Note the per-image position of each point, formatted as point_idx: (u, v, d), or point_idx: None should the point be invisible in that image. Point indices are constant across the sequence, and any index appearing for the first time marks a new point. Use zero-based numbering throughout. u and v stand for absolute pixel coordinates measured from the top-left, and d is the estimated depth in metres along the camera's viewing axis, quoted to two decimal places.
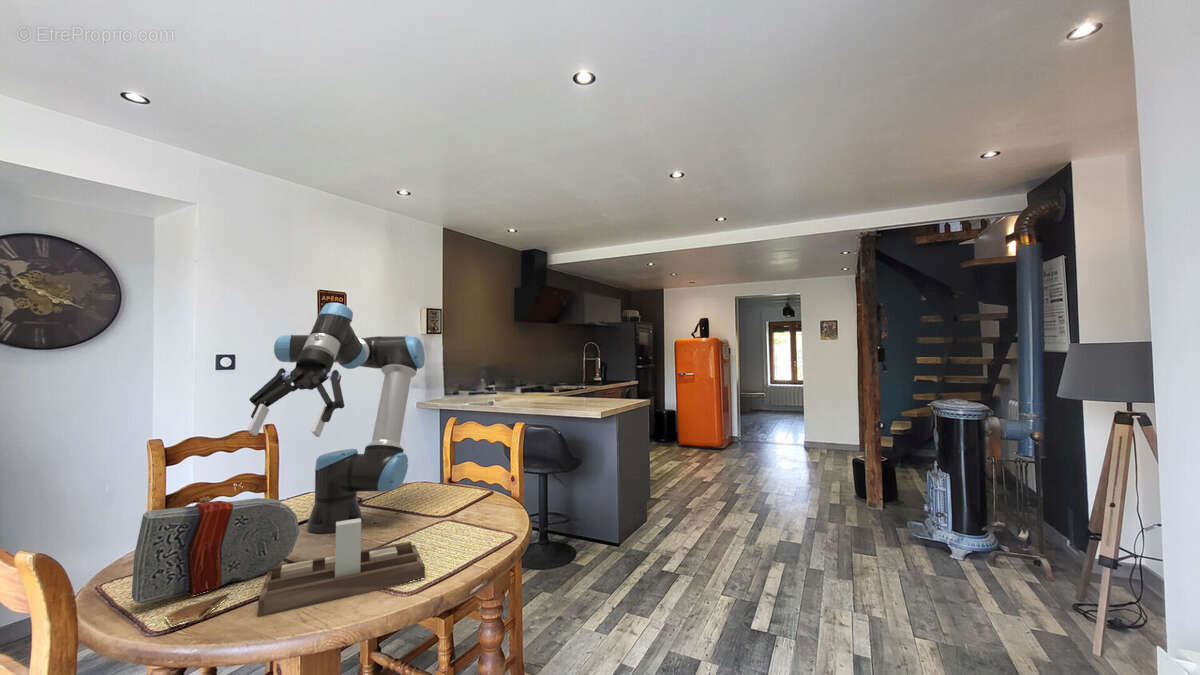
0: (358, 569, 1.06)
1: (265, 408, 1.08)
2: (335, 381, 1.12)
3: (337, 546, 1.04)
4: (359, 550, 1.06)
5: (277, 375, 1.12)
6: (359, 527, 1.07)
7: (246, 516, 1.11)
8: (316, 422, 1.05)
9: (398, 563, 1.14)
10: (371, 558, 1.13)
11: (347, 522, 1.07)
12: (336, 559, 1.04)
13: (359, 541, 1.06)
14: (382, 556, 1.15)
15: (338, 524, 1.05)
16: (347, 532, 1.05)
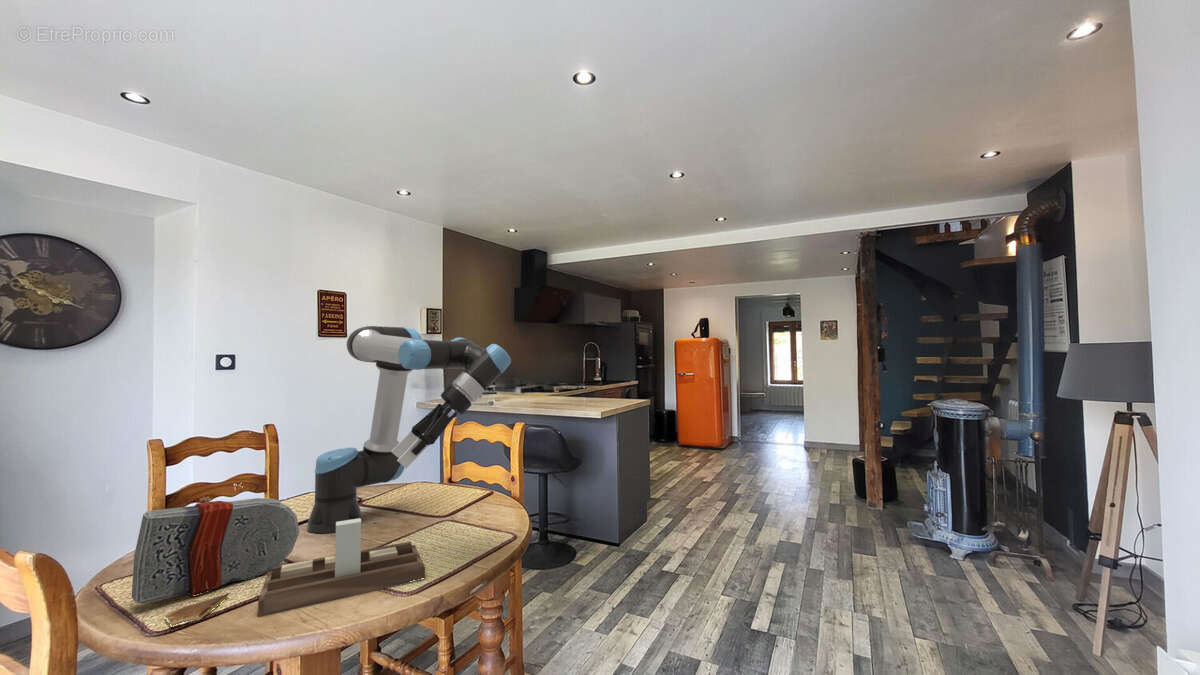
0: (358, 569, 1.06)
1: None
2: None
3: (337, 546, 1.04)
4: (359, 550, 1.06)
5: None
6: (359, 527, 1.07)
7: (246, 516, 1.11)
8: None
9: (398, 563, 1.14)
10: (371, 558, 1.13)
11: (346, 522, 1.07)
12: (336, 559, 1.04)
13: (359, 541, 1.06)
14: (382, 555, 1.15)
15: (338, 524, 1.05)
16: (347, 532, 1.05)
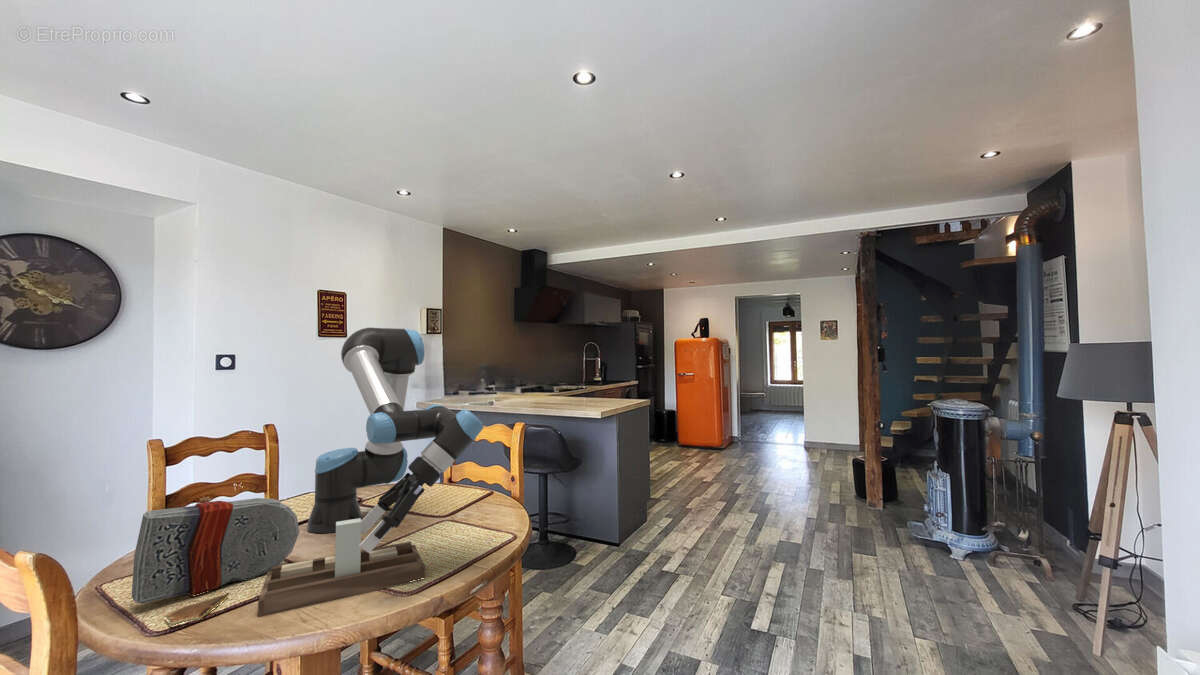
0: (358, 569, 1.06)
1: None
2: None
3: (337, 546, 1.04)
4: (359, 550, 1.06)
5: None
6: (359, 527, 1.07)
7: (246, 516, 1.11)
8: None
9: (398, 563, 1.14)
10: (371, 558, 1.13)
11: (347, 522, 1.07)
12: (336, 559, 1.04)
13: (359, 541, 1.06)
14: (382, 555, 1.15)
15: (338, 524, 1.05)
16: (347, 532, 1.05)
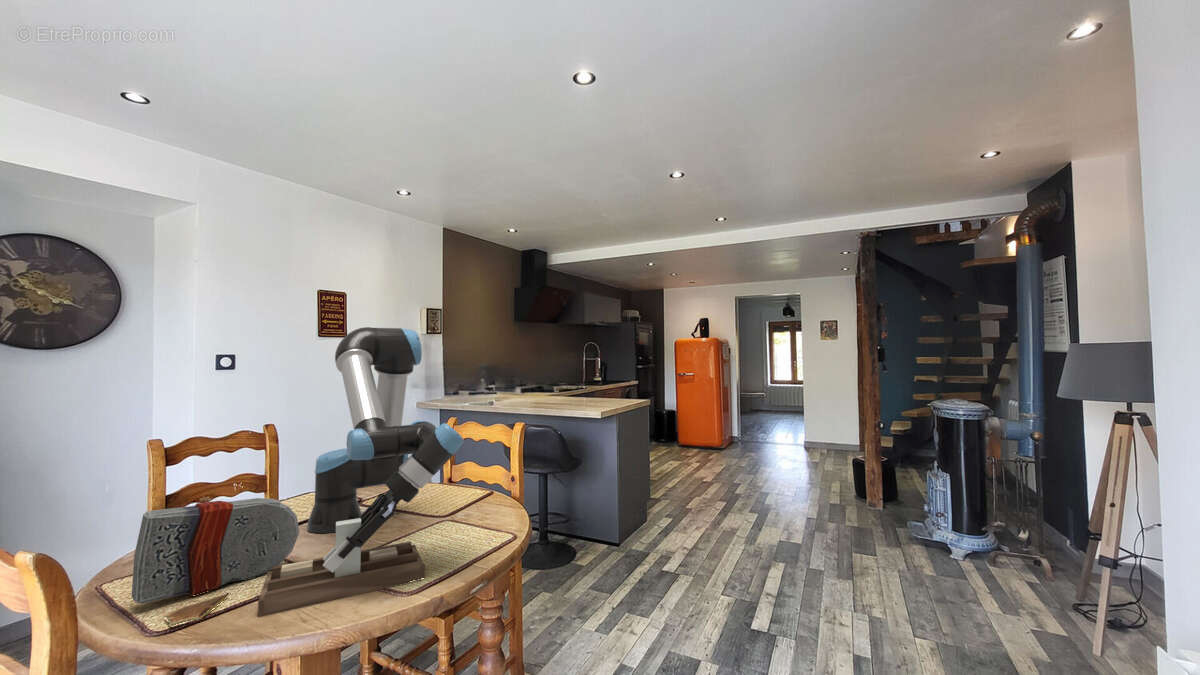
0: (358, 569, 1.06)
1: None
2: None
3: (337, 546, 1.04)
4: (359, 550, 1.06)
5: None
6: (359, 527, 1.07)
7: (246, 516, 1.11)
8: None
9: (398, 563, 1.14)
10: (371, 558, 1.13)
11: (346, 522, 1.07)
12: None
13: None
14: (382, 555, 1.15)
15: (338, 524, 1.05)
16: (347, 532, 1.05)
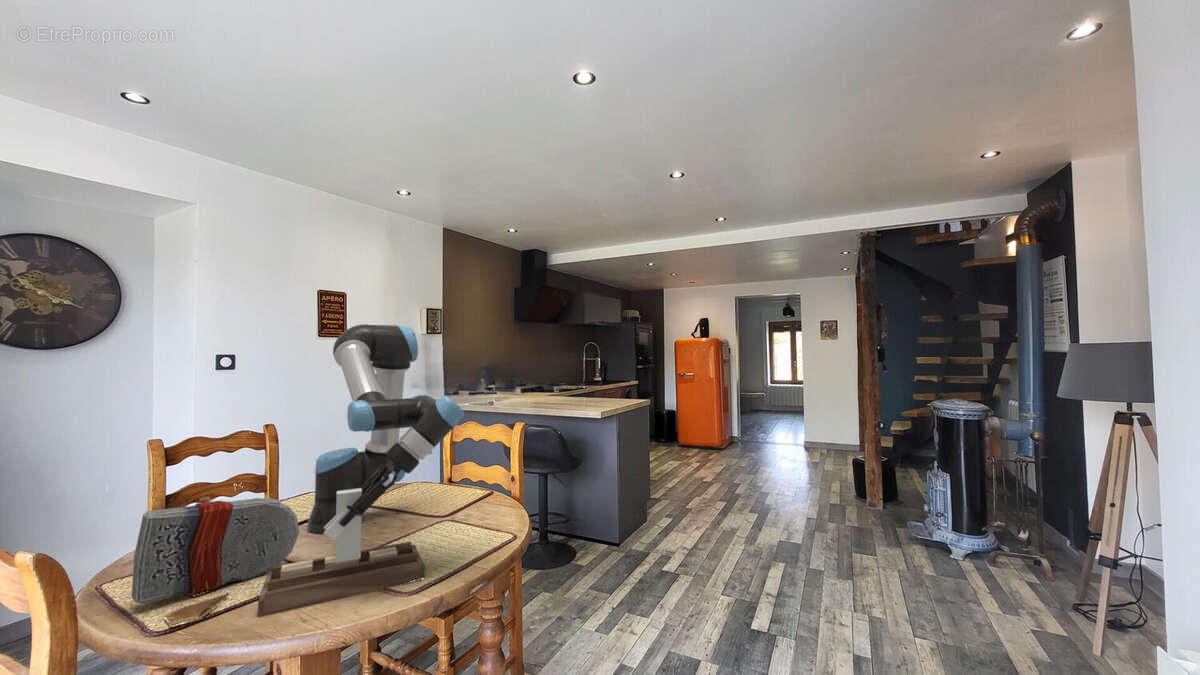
0: (359, 538, 1.07)
1: None
2: None
3: (338, 514, 1.05)
4: (360, 519, 1.07)
5: None
6: None
7: (246, 516, 1.11)
8: None
9: (398, 563, 1.14)
10: (371, 558, 1.13)
11: (347, 491, 1.07)
12: None
13: None
14: (382, 555, 1.15)
15: (339, 493, 1.06)
16: (348, 501, 1.06)
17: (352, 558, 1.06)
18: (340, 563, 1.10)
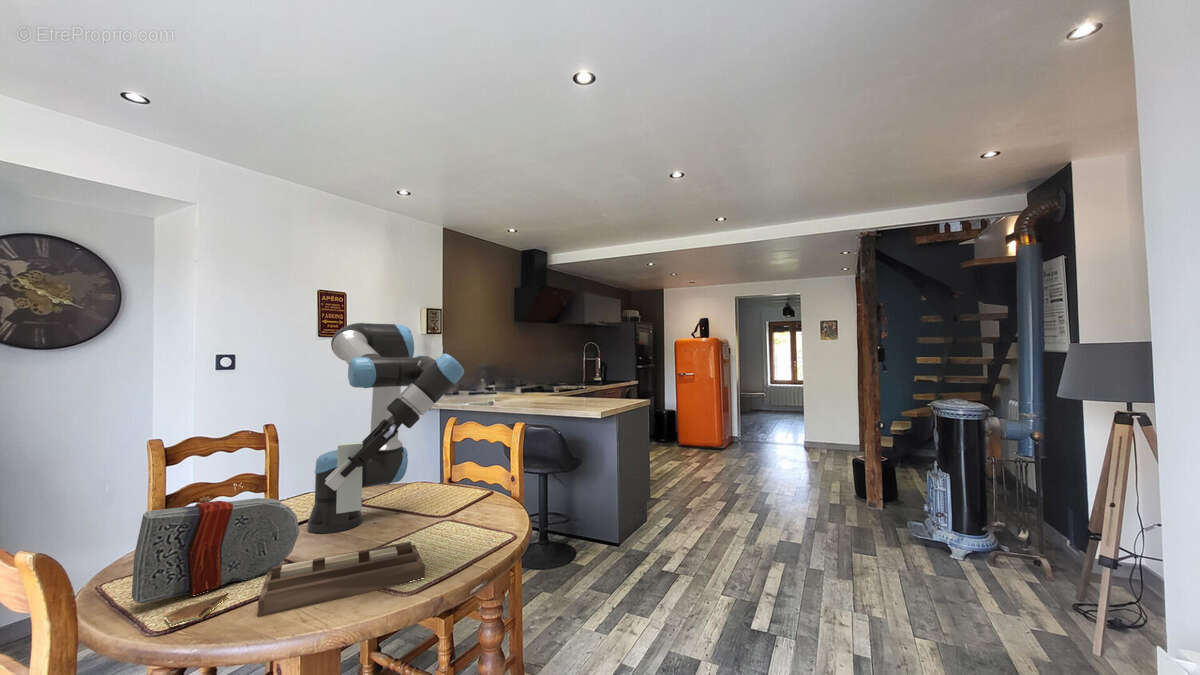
0: (360, 490, 1.07)
1: None
2: None
3: (339, 466, 1.05)
4: (361, 471, 1.07)
5: None
6: None
7: (246, 516, 1.11)
8: None
9: (398, 563, 1.14)
10: (371, 558, 1.13)
11: (348, 443, 1.08)
12: None
13: None
14: (382, 555, 1.15)
15: (340, 445, 1.06)
16: (349, 453, 1.07)
17: (353, 509, 1.06)
18: (340, 563, 1.10)
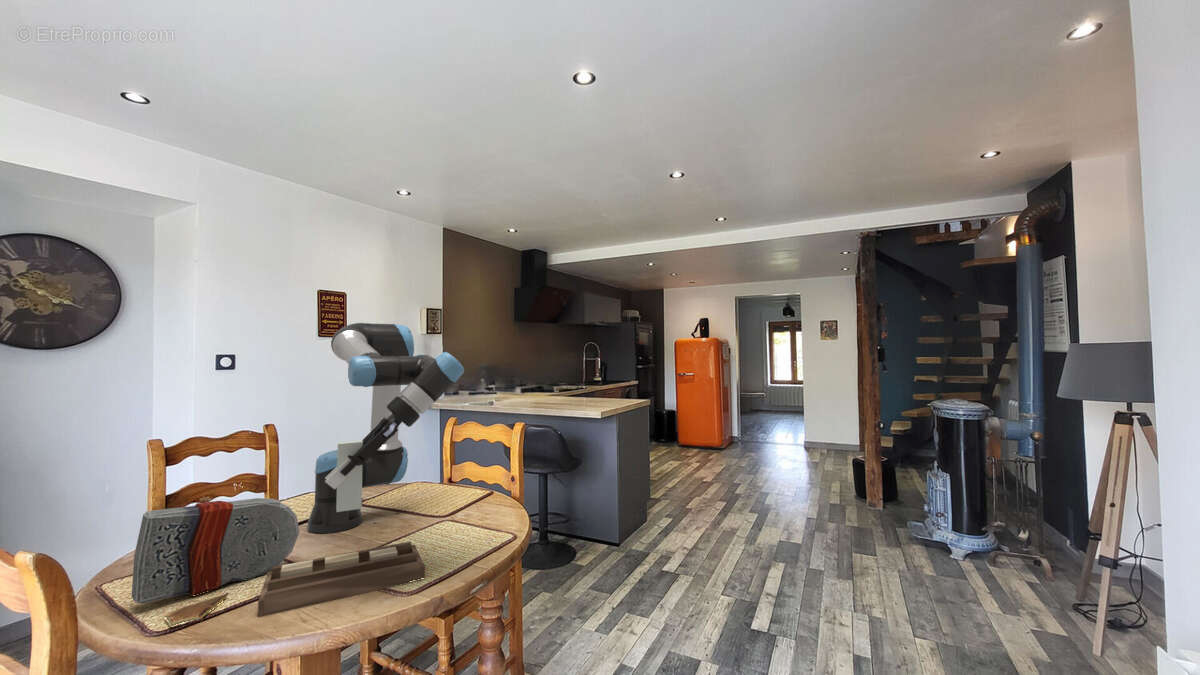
0: (360, 488, 1.07)
1: None
2: None
3: (339, 464, 1.05)
4: (361, 470, 1.07)
5: None
6: None
7: (246, 516, 1.11)
8: None
9: (398, 563, 1.14)
10: (371, 558, 1.13)
11: (348, 442, 1.08)
12: None
13: None
14: (382, 555, 1.15)
15: (340, 443, 1.06)
16: (349, 451, 1.07)
17: (353, 508, 1.06)
18: (340, 563, 1.10)
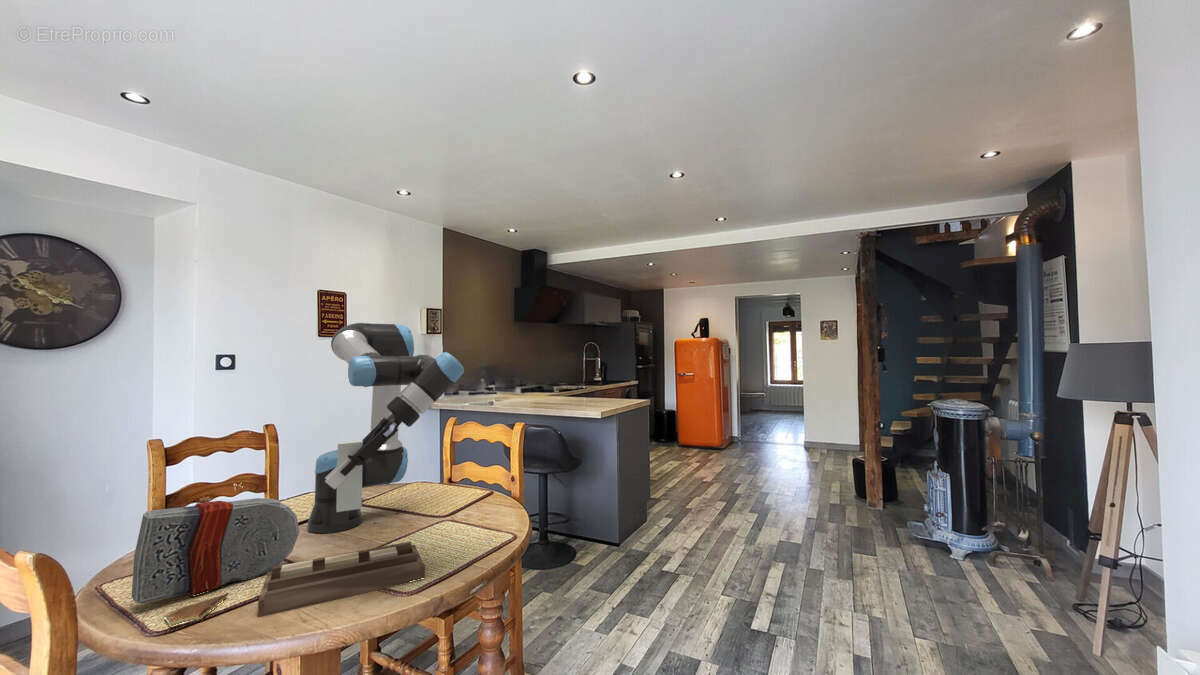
0: (360, 488, 1.07)
1: None
2: None
3: (339, 464, 1.05)
4: (361, 470, 1.07)
5: None
6: None
7: (246, 516, 1.11)
8: None
9: (398, 563, 1.14)
10: (371, 558, 1.13)
11: (348, 442, 1.08)
12: None
13: None
14: (382, 555, 1.15)
15: (340, 443, 1.06)
16: (349, 451, 1.07)
17: (353, 508, 1.06)
18: (340, 563, 1.10)
